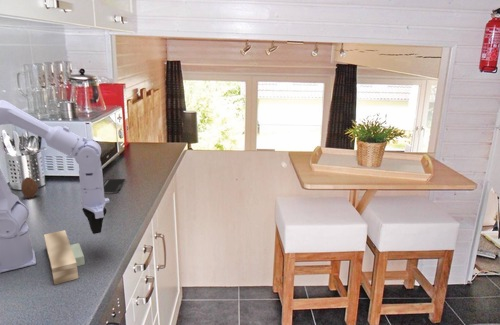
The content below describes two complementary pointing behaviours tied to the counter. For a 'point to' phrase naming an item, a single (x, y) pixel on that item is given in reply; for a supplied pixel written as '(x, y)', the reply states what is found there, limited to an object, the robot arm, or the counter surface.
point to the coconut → (29, 187)
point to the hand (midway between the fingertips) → (96, 232)
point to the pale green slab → (78, 254)
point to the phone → (113, 186)
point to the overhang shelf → (61, 257)
